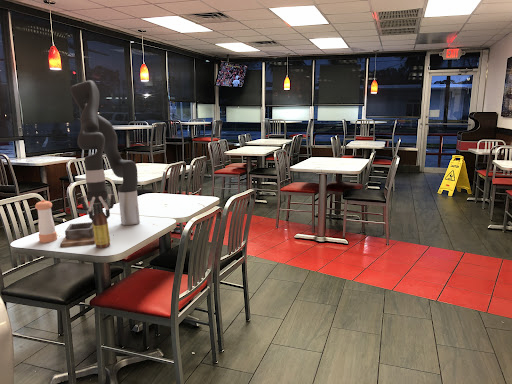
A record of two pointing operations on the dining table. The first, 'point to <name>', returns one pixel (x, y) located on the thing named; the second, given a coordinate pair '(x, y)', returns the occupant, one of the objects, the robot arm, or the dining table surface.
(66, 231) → the stone serving dish
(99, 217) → the sauce bottle
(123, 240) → the dining table surface
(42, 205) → the pepper shaker
